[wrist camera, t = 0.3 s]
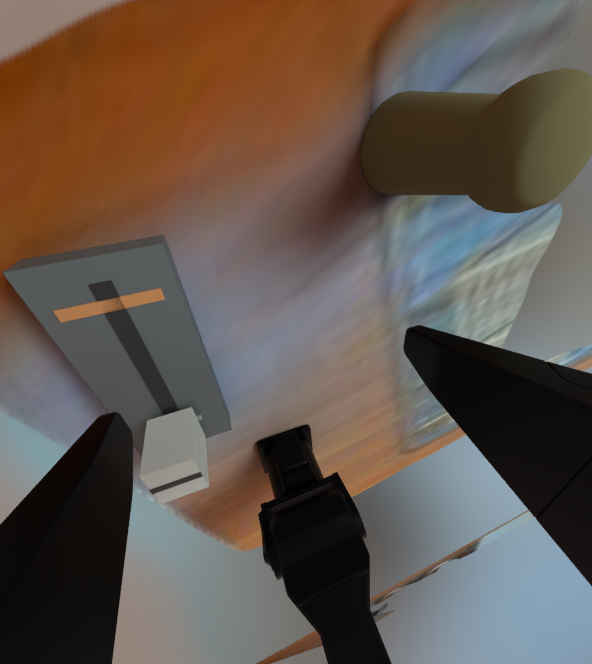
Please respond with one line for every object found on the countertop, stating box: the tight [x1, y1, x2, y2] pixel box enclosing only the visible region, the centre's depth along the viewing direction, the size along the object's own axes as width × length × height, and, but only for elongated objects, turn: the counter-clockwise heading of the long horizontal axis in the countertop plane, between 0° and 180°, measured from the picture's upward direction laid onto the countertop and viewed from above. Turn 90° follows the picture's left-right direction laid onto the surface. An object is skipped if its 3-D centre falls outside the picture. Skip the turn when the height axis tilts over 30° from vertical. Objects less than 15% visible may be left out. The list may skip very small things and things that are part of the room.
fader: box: [139, 407, 209, 504], centre depth 22 cm, size 4×4×5 cm
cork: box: [361, 68, 592, 213], centre depth 15 cm, size 6×6×11 cm
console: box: [3, 235, 232, 456], centre depth 21 cm, size 18×8×2 cm, turn 6°
